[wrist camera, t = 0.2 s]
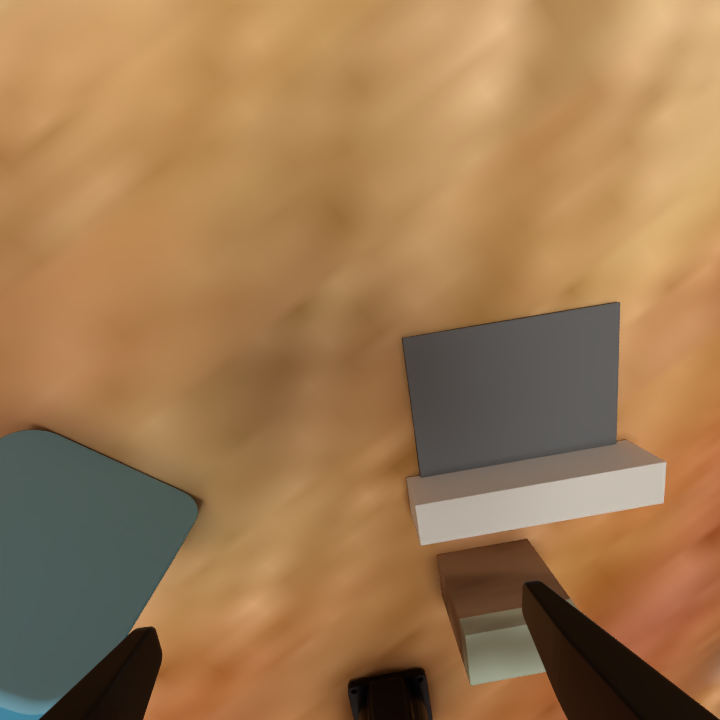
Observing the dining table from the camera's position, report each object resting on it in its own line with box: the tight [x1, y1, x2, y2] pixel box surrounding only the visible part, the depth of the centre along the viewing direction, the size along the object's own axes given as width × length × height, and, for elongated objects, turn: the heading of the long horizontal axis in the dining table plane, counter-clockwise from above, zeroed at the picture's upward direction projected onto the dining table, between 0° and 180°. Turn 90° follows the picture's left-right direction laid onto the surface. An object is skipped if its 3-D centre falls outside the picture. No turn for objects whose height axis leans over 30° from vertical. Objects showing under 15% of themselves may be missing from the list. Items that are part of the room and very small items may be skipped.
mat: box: [402, 302, 620, 478], centre depth 22 cm, size 10×14×1 cm
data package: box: [0, 430, 198, 720], centre depth 17 cm, size 12×4×12 cm, turn 59°
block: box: [437, 539, 577, 685], centre depth 23 cm, size 4×7×6 cm, turn 99°
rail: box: [406, 440, 666, 546], centre depth 23 cm, size 3×16×3 cm, turn 99°
